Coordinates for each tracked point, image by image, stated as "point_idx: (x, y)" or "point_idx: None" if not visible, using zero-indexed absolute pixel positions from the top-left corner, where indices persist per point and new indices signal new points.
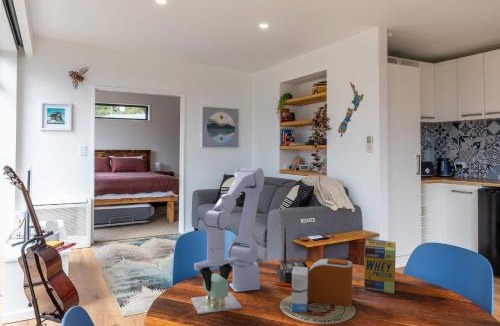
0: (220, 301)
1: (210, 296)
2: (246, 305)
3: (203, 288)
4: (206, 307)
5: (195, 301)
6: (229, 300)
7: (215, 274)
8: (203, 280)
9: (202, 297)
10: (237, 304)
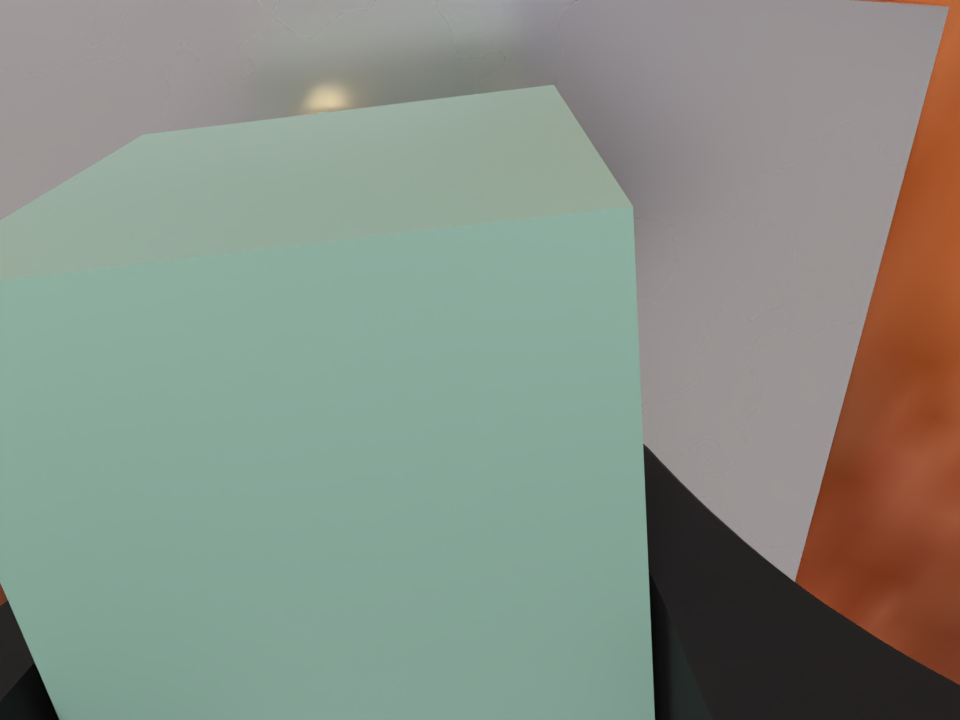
0: None
1: (398, 42)
2: (881, 591)
3: (128, 146)
4: None
5: (6, 205)
6: (696, 410)
7: (518, 417)
8: (10, 223)
9: (194, 33)
10: None
